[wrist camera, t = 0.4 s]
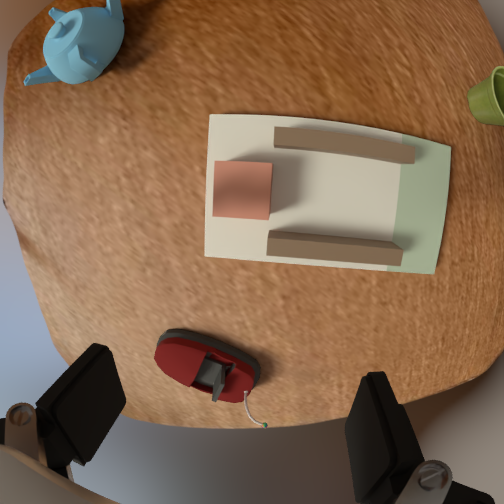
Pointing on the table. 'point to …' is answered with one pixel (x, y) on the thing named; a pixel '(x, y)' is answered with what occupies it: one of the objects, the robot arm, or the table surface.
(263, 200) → the block
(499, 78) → the plant pot
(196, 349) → the bumper car
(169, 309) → the table surface
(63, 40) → the teapot
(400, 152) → the board with rails
